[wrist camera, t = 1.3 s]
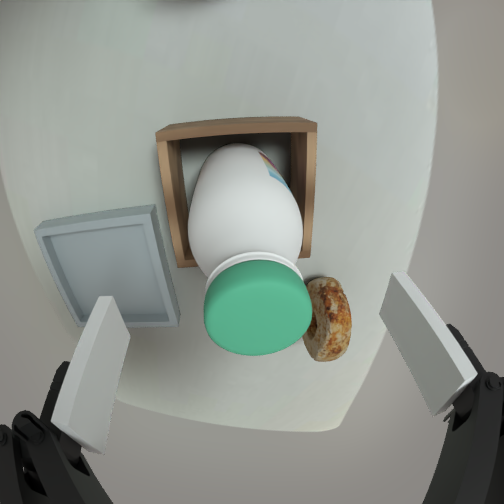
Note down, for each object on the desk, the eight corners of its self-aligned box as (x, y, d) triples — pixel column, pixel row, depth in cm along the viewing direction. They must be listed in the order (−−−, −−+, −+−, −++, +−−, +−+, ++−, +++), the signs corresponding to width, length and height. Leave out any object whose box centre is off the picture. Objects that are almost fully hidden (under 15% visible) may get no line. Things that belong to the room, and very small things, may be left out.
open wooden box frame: (169, 124, 24) (155, 132, 19) (298, 116, 25) (317, 123, 20) (184, 237, 31) (177, 267, 26) (296, 228, 32) (310, 257, 27)
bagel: (306, 262, 34) (330, 319, 26) (333, 262, 35) (363, 317, 26) (292, 321, 40) (308, 378, 31) (316, 320, 40) (335, 374, 32)
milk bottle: (196, 208, 29) (168, 372, 12) (204, 137, 26) (162, 233, 9) (267, 216, 31) (316, 375, 14) (281, 148, 27) (378, 255, 10)
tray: (43, 221, 28) (33, 230, 26) (155, 204, 29) (150, 213, 27) (82, 315, 36) (77, 326, 34) (180, 313, 37) (178, 326, 35)
